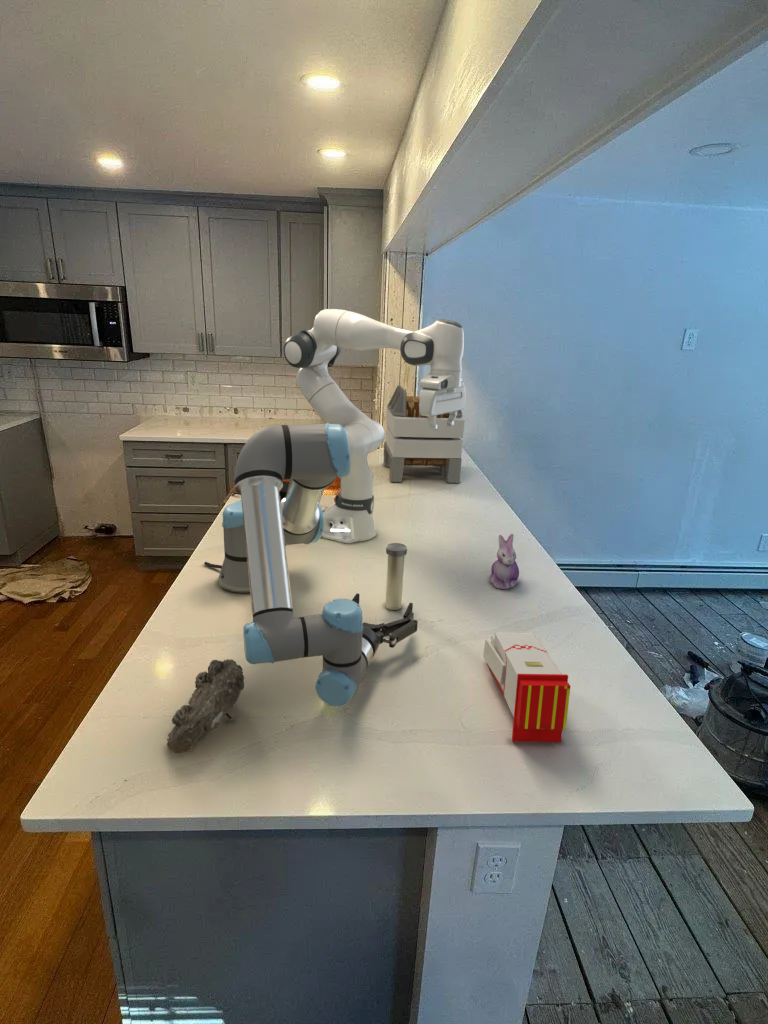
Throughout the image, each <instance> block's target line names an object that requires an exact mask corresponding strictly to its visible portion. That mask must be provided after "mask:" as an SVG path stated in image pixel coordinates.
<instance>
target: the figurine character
mask: <svg viewBox="0 0 768 1024" xmlns="http://www.w3.org/2000/svg"><path fill="white" fill-rule="evenodd" d="M289 482H290V481H283V488H282V489H281V490H280V491H279V497H280V502H281V500H282V499H284V498H285V497H286V494H287V490H288V486H289Z"/></svg>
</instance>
